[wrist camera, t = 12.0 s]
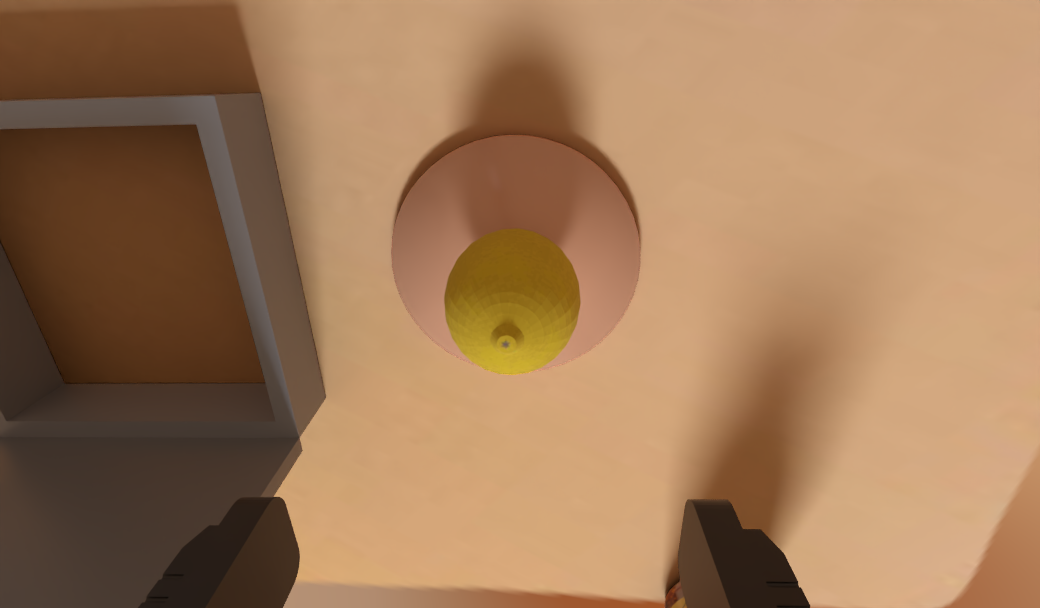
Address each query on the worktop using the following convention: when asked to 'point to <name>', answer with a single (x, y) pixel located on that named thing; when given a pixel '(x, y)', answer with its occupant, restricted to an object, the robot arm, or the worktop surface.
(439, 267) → the saucer
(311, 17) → the worktop surface
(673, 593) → the sauce bottle
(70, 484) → the case
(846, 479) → the worktop surface
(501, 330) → the lemon
